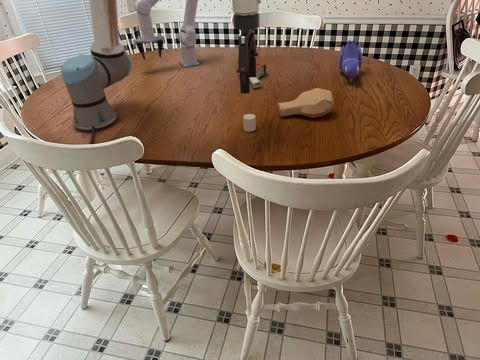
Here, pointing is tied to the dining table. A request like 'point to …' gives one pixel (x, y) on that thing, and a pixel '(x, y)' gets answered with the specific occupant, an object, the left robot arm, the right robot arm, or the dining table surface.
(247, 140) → the dining table surface
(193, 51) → the right robot arm
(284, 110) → the squash
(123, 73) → the left robot arm
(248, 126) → the canister
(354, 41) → the toy
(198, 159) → the dining table surface
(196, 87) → the dining table surface
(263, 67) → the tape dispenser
